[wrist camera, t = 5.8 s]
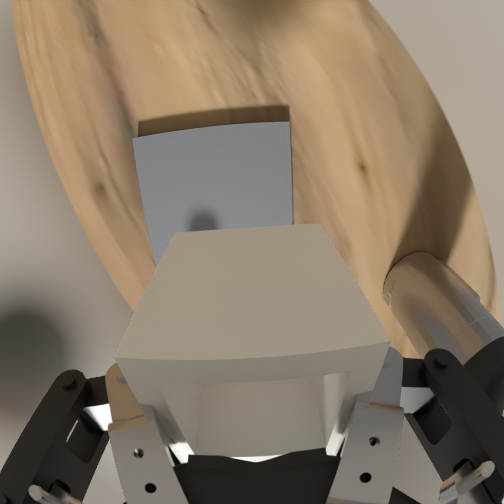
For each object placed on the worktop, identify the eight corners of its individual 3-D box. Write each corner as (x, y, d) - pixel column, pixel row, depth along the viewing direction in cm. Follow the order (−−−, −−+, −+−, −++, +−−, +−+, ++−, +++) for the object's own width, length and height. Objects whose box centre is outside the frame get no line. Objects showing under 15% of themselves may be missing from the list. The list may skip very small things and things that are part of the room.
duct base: (287, 121, 26) (289, 121, 25) (290, 308, 36) (292, 315, 34) (137, 137, 26) (132, 138, 25) (172, 314, 36) (170, 322, 35)
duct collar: (319, 223, 12) (390, 340, 6) (312, 333, 14) (344, 453, 8) (174, 232, 12) (114, 357, 6) (196, 340, 14) (178, 463, 8)
